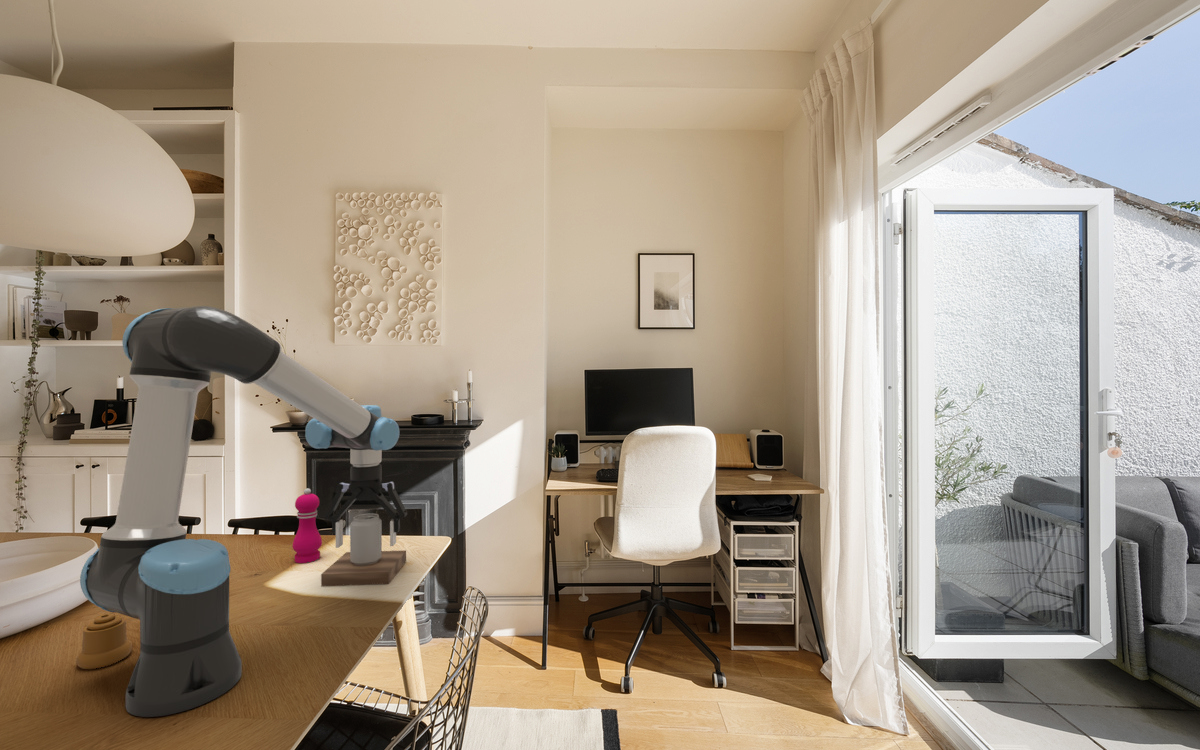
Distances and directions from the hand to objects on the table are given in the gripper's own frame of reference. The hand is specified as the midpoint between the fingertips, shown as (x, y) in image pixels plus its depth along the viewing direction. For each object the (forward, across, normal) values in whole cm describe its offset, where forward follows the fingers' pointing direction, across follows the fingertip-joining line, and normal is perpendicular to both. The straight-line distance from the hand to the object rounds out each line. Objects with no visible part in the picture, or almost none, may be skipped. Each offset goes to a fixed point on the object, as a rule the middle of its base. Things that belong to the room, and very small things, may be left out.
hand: (366, 545), depth 139 cm
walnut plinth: (+7, 0, 0) cm, 7 cm away
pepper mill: (+7, +20, -12) cm, 24 cm away
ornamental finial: (+8, +33, +39) cm, 52 cm away
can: (+4, 0, 0) cm, 4 cm away
